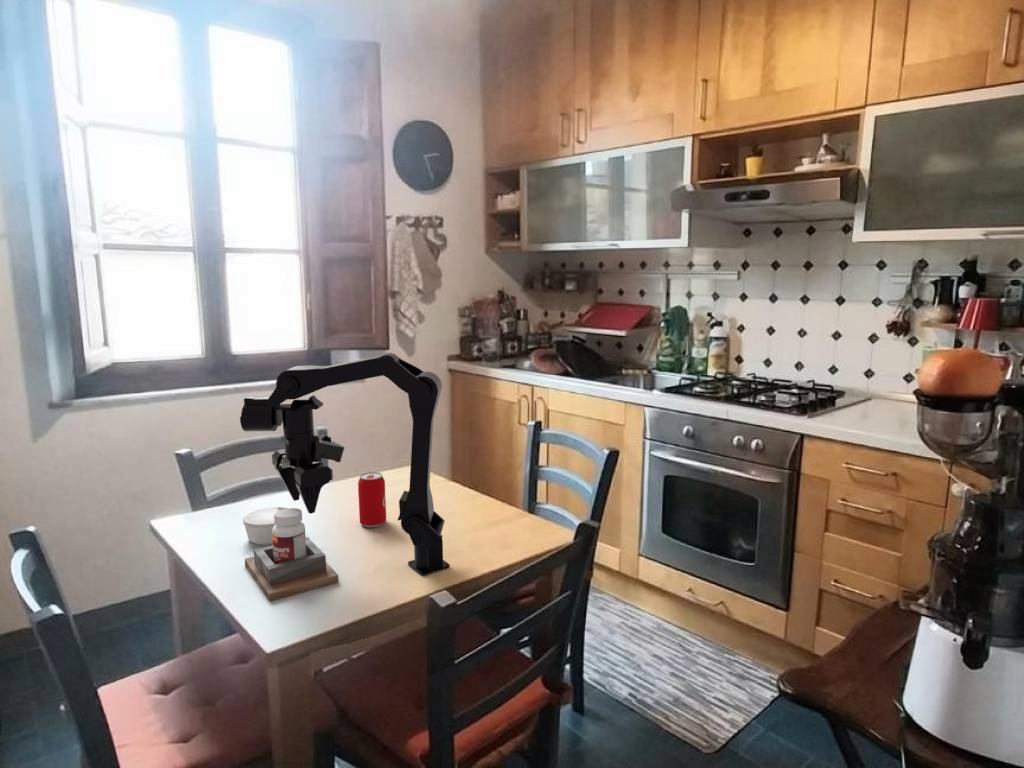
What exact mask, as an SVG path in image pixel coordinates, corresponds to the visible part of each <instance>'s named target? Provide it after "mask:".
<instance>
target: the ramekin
mask: <svg viewBox="0 0 1024 768" xmlns="http://www.w3.org/2000/svg"><path fill="white" fill-rule="evenodd" d="M287 508H288V507H283V506H279V507H278V506H274V507H272V506H270V507H264V508H260V509H256V510H253V511H251V512H248V513H247V514H246V515H245V516H243V518H242V523H243V525H244V528H245V532H246V536H247V539H248V540H249V541H250V542H251V543H252V544H254V543H255V545H259V546H271V545H273V538H272V529H273V527H274V526H275V525H276V524H275V523H274V514H275V512H277V511H279V510H282V509H287ZM270 544H271V545H270Z"/></svg>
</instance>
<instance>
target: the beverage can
mask: <svg viewBox="0 0 1024 768" xmlns="http://www.w3.org/2000/svg"><path fill="white" fill-rule="evenodd" d="M357 487H358V488H357V490H358V512H359V513H358V514H359V515H358V516H359V523H360V525H362V526H364V528H378V527H380V526H382V525H384V524H385V523H386V521H387V506H386V505H387V503H386V502H387V501H386V498H387V497H386V480H385V478H384V477H383V474H382V473H381V472H376V471H371V472H364V473H362V474H360V475H359V479H358V481H357Z"/></svg>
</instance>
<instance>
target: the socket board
mask: <svg viewBox="0 0 1024 768" xmlns="http://www.w3.org/2000/svg"><path fill="white" fill-rule="evenodd" d="M305 537H306V557H303V558H299V559H295V560H291V561H287V562H283V563H279V564H274V557H273V544H271V545H266V546H264V547H259V548H256V549H253V556H251V557H247V558H244V566H245V568H246V569H247V571H248V572H249V573H250V575H251V576H252V578H253V579H254V582H256V584H257V585H258V587H259V588H260V590H261V591H262V593H263V594H264V596H265V597H266V598H267V600H268V601H269V602H273V601H277V600H280V599H284V598H288V597H291V596H294V595H298V594H301V593H304V592H309V591H312V590H315V589H319V588H320V589H321V588H322V587H323V588H324V587H327V586H330V585H334V584H336V583H339V582H340V580H339V574H338V573H337V572H336V571H335V570H334V569H333V568H332V566H330V565H329V564H328V562H327V558H326V554H325V553H324V552H323V551H322V550H321V549H320V548H319V547H318V546H317V545H316V544H315V543H314V542H313V541H312V540H311V539H310V538H309V537H308V536H305Z"/></svg>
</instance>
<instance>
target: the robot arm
mask: <svg viewBox="0 0 1024 768" xmlns="http://www.w3.org/2000/svg"><path fill="white" fill-rule="evenodd" d="M382 376H383V377H385V378H387V379H388V380H390V381H391V382H392V383H393V384H394V385H396V387H397V388H399V389H400V390H402V391H403V392H404V393H406V394H407V397H408V403H409V410H410V414H411V417H412V435H411V451H410V452H411V453H410V454H411V455H410V469H409V470H410V471H409V473H410V474H409V487H408V488H409V489H408V491H407V490H403V493H402V494H401V495H400V498H399V500H398V501H399V502H398V505H399V506H398V507H399V508H398V509H399V514H398V517H397V521H400V526H401V529H402V530H403V531H404V532H405V533H406V534H407V535H409V538H410V540H411V542H412V545H413V547H414V550H413V551H414V553H413V554H414V555H413V556H414V559H413V560H410V561H407V564H408V566H409V567H411V568H412V569H413V570H415V571H416V572H417V573H418V574H420V575H421V576H425V575H429V574H432V573H435V572H439V571H442V570H446V569H448V568H450V567H451V564H449V563H448V561H445V560H444V546H443V545H444V542H443V535H442V533H443V532H442V531H443V527H444V525H445V519H443V517H441V516H440V515H439V514H438V513H437V512H436V511H435V509H434V502H433V494H432V490H431V485H430V484H431V483H430V480H431V463H432V447H433V429H434V418H435V415H436V410H437V408H438V404H439V399H440V397H441V393H442V387H443V385H442V380H441V379H440V378H439V376H438V375H437V374H436V373H434V372H431V371H423V370H422V369H420V368H419V367H418V366H415V365H414V364H413V363H412V364H411V363H409V362H407V361H406V360H403V359H402V358H400V357H399V356H398V355H396V354H395V353H393V352H387V353H384V354H382V355H378V356H372V357H367V358H361V359H357V360H352V361H348V362H347V361H346V362H342V363H337V364H331V365H296V366H294V367H291V368H288V369H286V370H284V371H282V372H280V373H279V375H278V376H277V378H276V382H275V384H276V385H275V389H273V391H272V393H271V394H270V396H269V397H268V396H267V397H264V396H263V397H262V396H261V397H258V396H247V397H244V399H243V406H242V408H241V414H240V416H239V421H240V426H241V429H242V430H243V432H275V431H277V429H278V428H279V427H280V426H281V427H282V430H283V435H280V442H283V444H284V448H283V449H282V448H281V449H277V450H275V451H274V452H273V453H272V455H271V461H272V465H273V466H274V469H275V470H276V471H277V474H278V476H279V477H280V479H281V480H282V482H283V484H284V486H285V487H286V490H287V491H288V493H289V495H290V497H291V499H292V500H293V501H294V502H295V501H299V500H300V497H301V499H302V501H303V504H304V506H305V508H306V511H307V512H308V514H314V513H315V512H316V510H317V509H316V508H317V505H318V502H319V497H320V494H321V490H322V488H323V487H324V486H326V484H329V483H330V481H333V479H334V475H333V469H332V468H331V467H329V466H328V465H327V464H325V463H323V462H322V459H325V460H330V461H334V462H335V463H341V461H342V458H343V453H344V451H345V446H343V445H341V444H340V443H337V442H334V441H332V437H331V436H329V435H326V434H320V435H319V436H318V435H317V434H315V429H314V428H315V426H314V411H313V410H318V409H320V408H321V407H324V403H323V402H322V401H321V400H319V399H318V398H317V397H316V395H314V394H313V393H315V392H317V391H319V390H322V389H324V388H328V387H330V386H331V387H332V386H336V385H340V384H346V383H350V382H357V381H361V380H366V379H371V378H376V377H377V378H378V377H382ZM310 394H313V395H311V396H310V397H308V398H307V399H299V398H302V397H305V396H307V395H310ZM288 400H292V402H291V403H284V402H286V401H288Z"/></svg>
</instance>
